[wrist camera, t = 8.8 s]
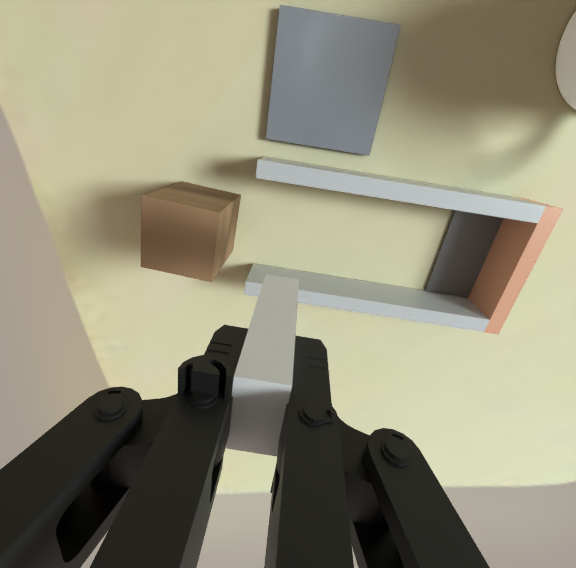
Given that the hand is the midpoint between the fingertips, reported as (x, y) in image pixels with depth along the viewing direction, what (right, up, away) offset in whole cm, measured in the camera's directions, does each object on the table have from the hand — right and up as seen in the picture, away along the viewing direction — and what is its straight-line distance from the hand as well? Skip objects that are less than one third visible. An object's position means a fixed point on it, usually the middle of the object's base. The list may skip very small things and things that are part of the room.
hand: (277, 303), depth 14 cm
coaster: (+3, +15, +8) cm, 18 cm away
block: (-6, +7, +13) cm, 16 cm away
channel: (+8, +5, +13) cm, 16 cm away
